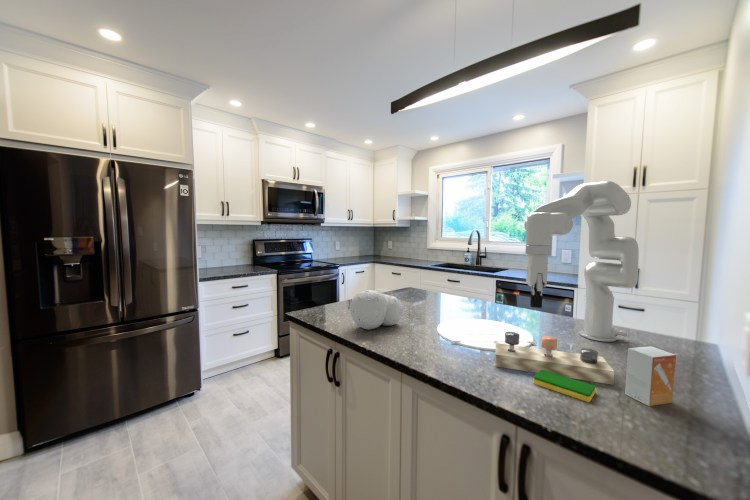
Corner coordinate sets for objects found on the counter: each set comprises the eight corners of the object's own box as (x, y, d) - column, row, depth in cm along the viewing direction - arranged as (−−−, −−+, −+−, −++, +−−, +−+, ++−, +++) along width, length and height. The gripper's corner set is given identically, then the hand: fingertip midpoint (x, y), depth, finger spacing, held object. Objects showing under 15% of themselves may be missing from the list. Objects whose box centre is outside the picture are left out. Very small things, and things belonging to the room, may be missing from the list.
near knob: (594, 370, 97) (595, 349, 97) (598, 376, 93) (599, 354, 93) (578, 368, 99) (579, 347, 98) (581, 373, 95) (582, 352, 94)
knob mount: (601, 368, 99) (602, 356, 99) (613, 384, 89) (614, 371, 89) (495, 353, 111) (495, 343, 111) (495, 366, 101) (495, 354, 101)
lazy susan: (554, 353, 112) (555, 344, 112) (447, 352, 113) (448, 343, 113) (509, 321, 152) (509, 314, 152) (430, 320, 153) (430, 313, 153)
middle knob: (554, 357, 101) (555, 336, 101) (557, 362, 97) (558, 341, 97) (539, 355, 103) (540, 335, 102) (541, 360, 99) (542, 339, 98)
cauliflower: (416, 309, 144) (391, 270, 144) (386, 341, 127) (357, 297, 126) (389, 319, 159) (366, 283, 159) (358, 349, 141) (332, 309, 141)
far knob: (518, 352, 105) (518, 332, 105) (519, 357, 101) (519, 336, 101) (504, 350, 107) (504, 331, 106) (504, 354, 103) (505, 335, 102)
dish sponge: (541, 376, 95) (541, 369, 95) (595, 394, 85) (595, 385, 85) (532, 384, 90) (533, 376, 90) (589, 404, 80) (589, 395, 80)
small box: (649, 407, 78) (652, 357, 77) (624, 394, 84) (626, 347, 83) (673, 403, 80) (677, 354, 79) (647, 390, 86) (650, 345, 85)
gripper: (523, 249, 107) (520, 301, 108) (528, 251, 93) (526, 311, 94) (547, 250, 105) (544, 303, 106) (556, 252, 91) (553, 313, 92)
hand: (535, 306), depth 100 cm, fingers closed
